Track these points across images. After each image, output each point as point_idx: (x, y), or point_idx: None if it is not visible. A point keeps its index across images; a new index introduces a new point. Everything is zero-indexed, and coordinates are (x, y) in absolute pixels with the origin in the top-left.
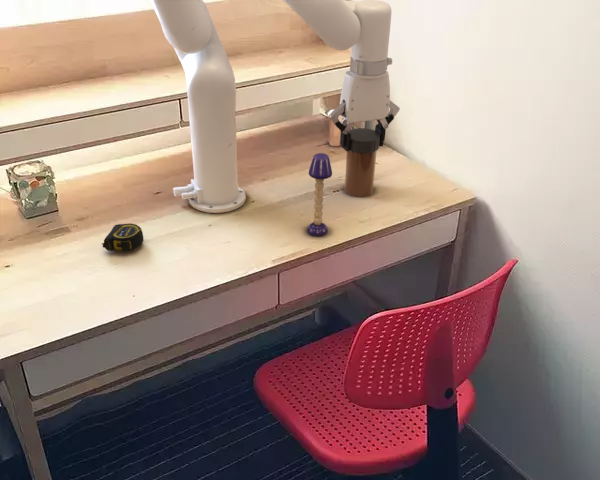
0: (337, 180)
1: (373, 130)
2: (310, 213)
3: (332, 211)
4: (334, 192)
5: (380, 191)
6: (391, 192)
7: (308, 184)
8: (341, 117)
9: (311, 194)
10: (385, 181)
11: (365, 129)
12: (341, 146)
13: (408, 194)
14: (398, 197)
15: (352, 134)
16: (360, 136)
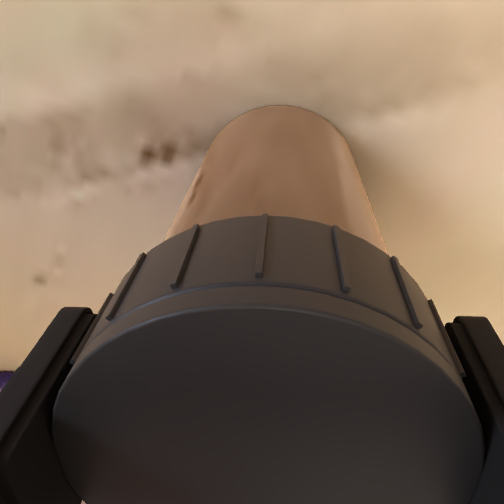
0: (209, 19)
1: (468, 432)
2: (4, 296)
3: (95, 309)
4: (147, 162)
5: (378, 226)
6: (423, 252)
7: (17, 16)
8: None
9: (23, 145)
10: (480, 132)
11: (382, 377)
12: (68, 309)
13: (484, 291)
14: None
15: (132, 440)
16: (209, 496)
